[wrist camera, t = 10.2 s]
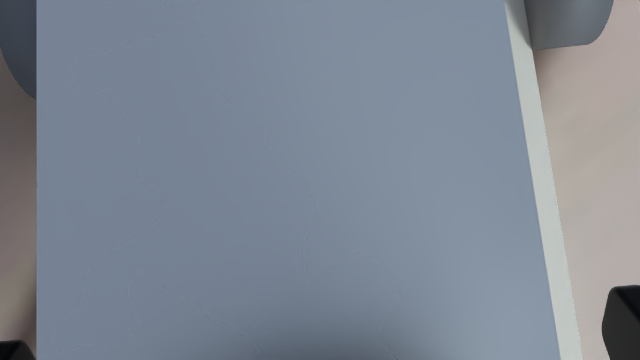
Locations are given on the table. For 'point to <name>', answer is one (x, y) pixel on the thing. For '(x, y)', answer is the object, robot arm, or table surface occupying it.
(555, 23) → the chassis
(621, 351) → the robot arm
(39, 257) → the blue-grey rectangular box
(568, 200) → the table surface
